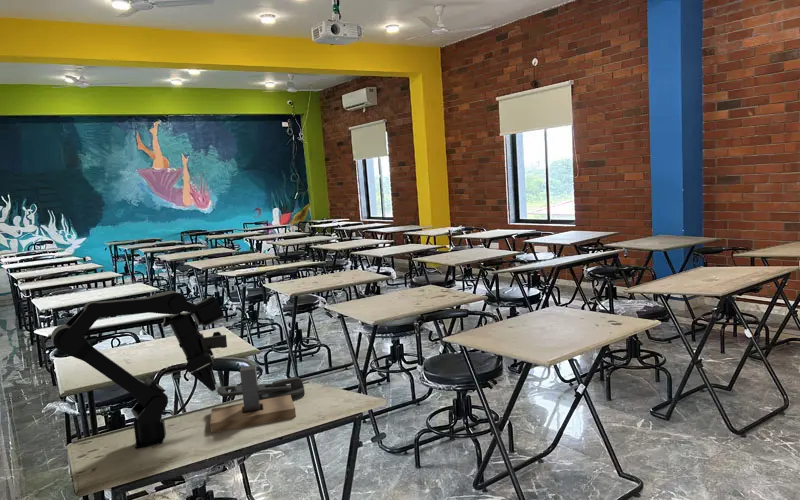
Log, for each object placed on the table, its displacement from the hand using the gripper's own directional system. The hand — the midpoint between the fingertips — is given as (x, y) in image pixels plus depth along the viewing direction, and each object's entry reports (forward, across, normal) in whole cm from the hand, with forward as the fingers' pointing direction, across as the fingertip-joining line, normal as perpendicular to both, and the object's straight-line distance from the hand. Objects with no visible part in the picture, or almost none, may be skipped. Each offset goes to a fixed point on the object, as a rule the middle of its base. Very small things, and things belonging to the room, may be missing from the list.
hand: (214, 387), depth 151 cm
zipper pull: (+13, +15, -9) cm, 22 cm away
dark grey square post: (+13, +3, -5) cm, 14 cm away
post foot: (+13, +4, -5) cm, 14 cm away
